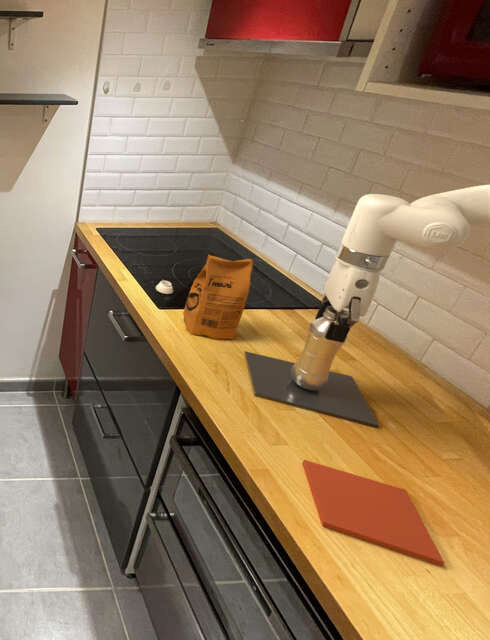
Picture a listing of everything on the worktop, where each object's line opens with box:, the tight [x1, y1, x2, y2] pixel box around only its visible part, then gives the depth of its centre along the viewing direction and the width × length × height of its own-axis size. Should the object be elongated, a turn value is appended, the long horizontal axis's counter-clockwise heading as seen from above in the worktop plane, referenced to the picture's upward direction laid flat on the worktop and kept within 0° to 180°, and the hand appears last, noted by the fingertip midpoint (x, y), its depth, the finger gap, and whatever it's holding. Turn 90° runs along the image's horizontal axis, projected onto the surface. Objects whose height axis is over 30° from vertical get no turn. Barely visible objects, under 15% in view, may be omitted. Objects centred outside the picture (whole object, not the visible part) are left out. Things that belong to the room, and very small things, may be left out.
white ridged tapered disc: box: [155, 280, 174, 295], centre depth 140 cm, size 5×3×5 cm
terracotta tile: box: [302, 459, 445, 567], centre depth 75 cm, size 15×13×1 cm
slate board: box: [243, 350, 380, 429], centre depth 102 cm, size 22×16×1 cm
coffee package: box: [182, 254, 254, 340], centre depth 118 cm, size 10×12×22 cm
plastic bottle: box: [291, 306, 348, 391], centre depth 98 cm, size 6×7×20 cm
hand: (328, 330), depth 96 cm, fingers closed on plastic bottle, 6 cm apart
